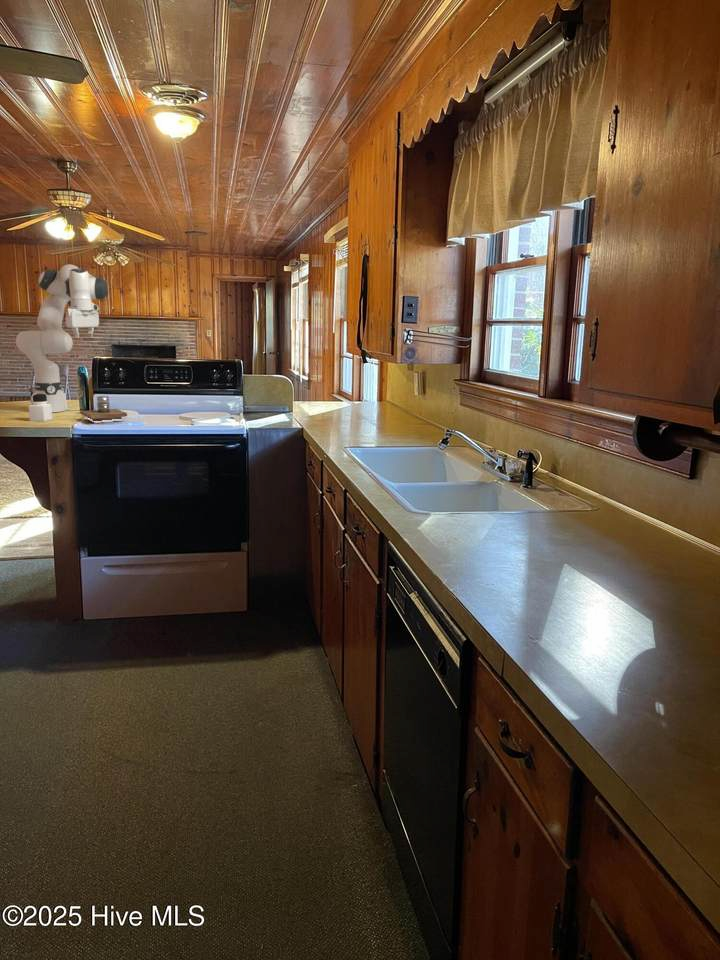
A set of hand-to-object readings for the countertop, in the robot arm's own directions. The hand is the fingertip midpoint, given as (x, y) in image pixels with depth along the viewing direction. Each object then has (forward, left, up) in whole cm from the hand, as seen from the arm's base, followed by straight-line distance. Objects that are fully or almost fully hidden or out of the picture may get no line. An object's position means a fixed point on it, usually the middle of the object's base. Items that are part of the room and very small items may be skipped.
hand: (83, 337), depth 319 cm
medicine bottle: (-5, -20, -37) cm, 43 cm away
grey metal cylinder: (+10, +4, -33) cm, 35 cm away
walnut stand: (+10, +4, -37) cm, 39 cm away
